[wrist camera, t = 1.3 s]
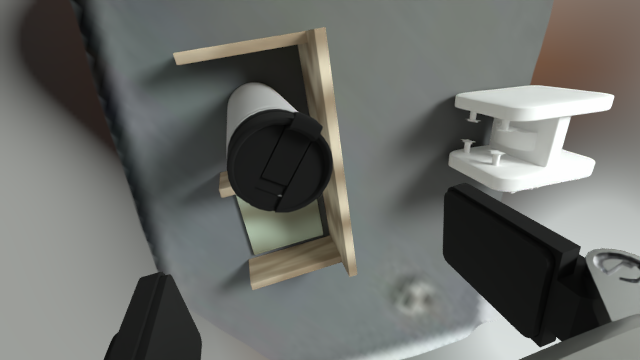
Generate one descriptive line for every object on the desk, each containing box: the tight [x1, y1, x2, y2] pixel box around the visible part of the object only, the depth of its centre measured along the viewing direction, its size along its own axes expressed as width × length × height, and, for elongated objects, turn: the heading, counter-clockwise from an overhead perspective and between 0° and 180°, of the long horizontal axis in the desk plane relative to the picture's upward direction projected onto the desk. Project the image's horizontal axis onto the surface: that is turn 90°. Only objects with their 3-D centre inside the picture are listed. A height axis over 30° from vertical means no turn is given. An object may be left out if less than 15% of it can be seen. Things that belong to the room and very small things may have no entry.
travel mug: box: [226, 82, 333, 213], centre depth 26 cm, size 6×7×20 cm
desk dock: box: [173, 27, 357, 290], centre depth 34 cm, size 28×13×8 cm, turn 9°
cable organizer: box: [448, 86, 614, 193], centre depth 39 cm, size 15×11×12 cm
